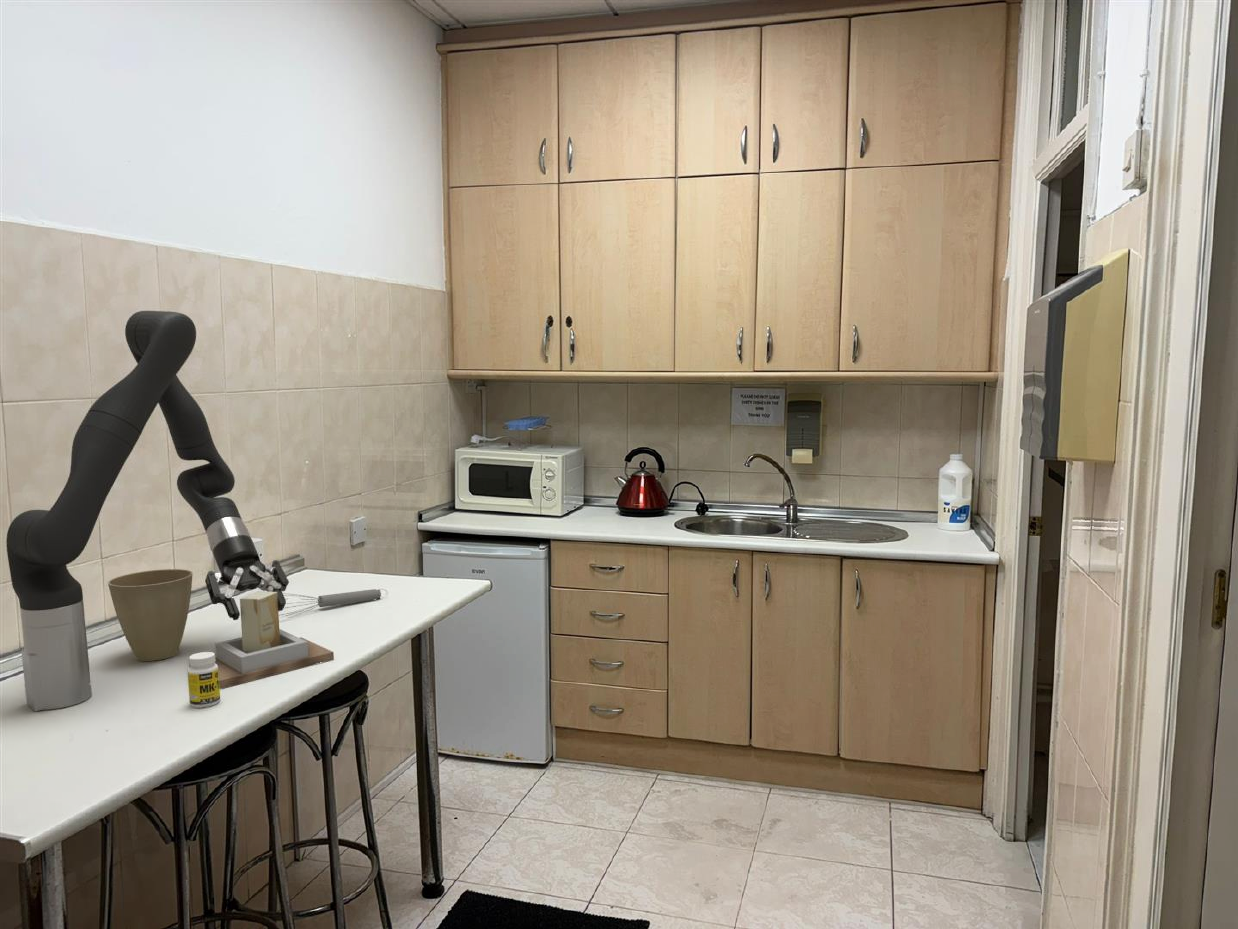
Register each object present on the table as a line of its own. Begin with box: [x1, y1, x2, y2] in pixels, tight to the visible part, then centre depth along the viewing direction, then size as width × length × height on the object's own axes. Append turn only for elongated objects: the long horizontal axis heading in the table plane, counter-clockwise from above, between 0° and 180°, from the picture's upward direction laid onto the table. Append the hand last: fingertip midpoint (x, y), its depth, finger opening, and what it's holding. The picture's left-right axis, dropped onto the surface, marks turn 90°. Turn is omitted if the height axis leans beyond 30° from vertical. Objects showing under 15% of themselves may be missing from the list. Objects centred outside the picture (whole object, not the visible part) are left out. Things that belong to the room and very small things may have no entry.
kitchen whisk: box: [279, 588, 388, 619], centre depth 213 cm, size 6×34×6 cm, turn 130°
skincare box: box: [239, 590, 280, 654], centre depth 175 cm, size 6×4×12 cm
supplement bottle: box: [187, 651, 221, 709], centre depth 156 cm, size 5×5×8 cm
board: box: [188, 636, 335, 690], centre depth 175 cm, size 22×14×2 cm, turn 134°
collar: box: [214, 628, 308, 674], centre depth 175 cm, size 12×12×3 cm
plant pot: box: [107, 568, 194, 662], centre depth 182 cm, size 15×15×16 cm
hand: (259, 613), depth 174 cm, fingers open, 8 cm apart
